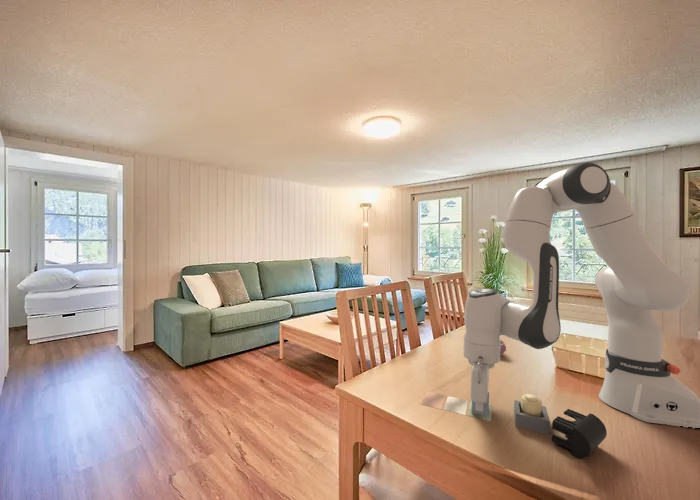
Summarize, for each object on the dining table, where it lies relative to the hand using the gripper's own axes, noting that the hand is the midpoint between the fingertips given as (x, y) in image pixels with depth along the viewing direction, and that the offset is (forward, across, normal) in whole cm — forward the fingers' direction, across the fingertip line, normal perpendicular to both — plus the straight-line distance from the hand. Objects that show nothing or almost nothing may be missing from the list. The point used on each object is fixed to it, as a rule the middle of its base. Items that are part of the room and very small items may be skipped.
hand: (480, 403), depth 81 cm
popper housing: (+3, 0, -12) cm, 12 cm away
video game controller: (+3, +50, -3) cm, 50 cm away
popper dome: (0, 0, -12) cm, 12 cm away
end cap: (+3, -5, -20) cm, 21 cm away
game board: (+3, 0, +6) cm, 6 cm away
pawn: (+2, 0, 0) cm, 2 cm away
